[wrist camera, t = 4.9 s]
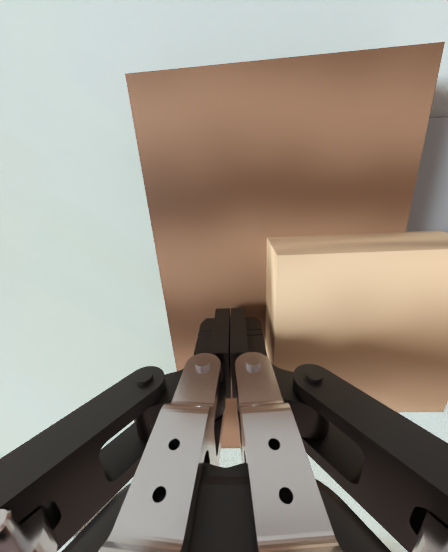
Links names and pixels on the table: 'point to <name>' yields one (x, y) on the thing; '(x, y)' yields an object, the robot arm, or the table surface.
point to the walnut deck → (272, 168)
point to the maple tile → (364, 312)
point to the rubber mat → (431, 181)
